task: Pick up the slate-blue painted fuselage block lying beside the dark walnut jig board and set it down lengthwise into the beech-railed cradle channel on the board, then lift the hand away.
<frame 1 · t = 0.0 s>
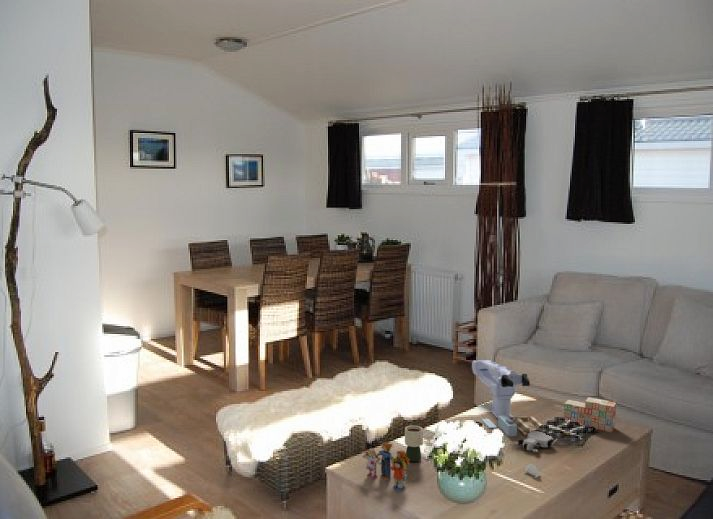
hand: (520, 384, 280), 22 cm above the table, tool horizontal, fingers open, 7 cm apart
character mug: (413, 460, 253), on the table
robot toy: (535, 447, 266), on the table
fuselage: (507, 431, 283), on the table
doll family: (389, 479, 236), on the table
wing plate: (488, 425, 290), on the table
jig: (529, 428, 286), on the table
stack of blocks: (588, 425, 290), on the table
car cutout: (523, 472, 244), on the table
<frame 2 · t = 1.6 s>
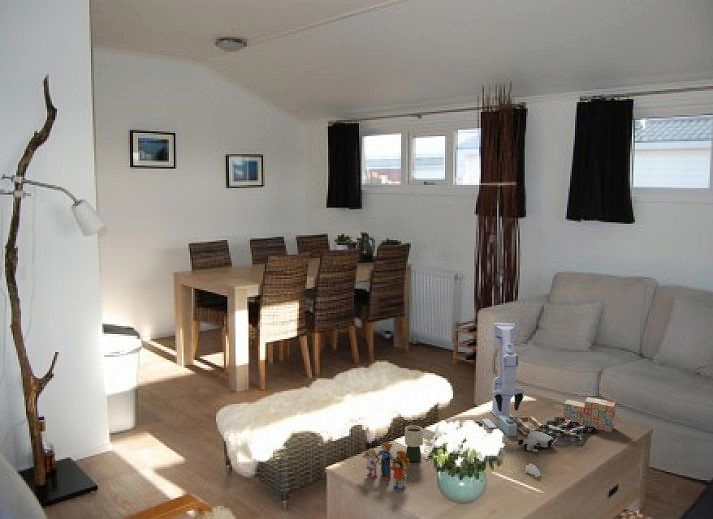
hand: (507, 410, 282), 9 cm above the table, tool pointing down, fingers open, 7 cm apart
nothing on the table moved.
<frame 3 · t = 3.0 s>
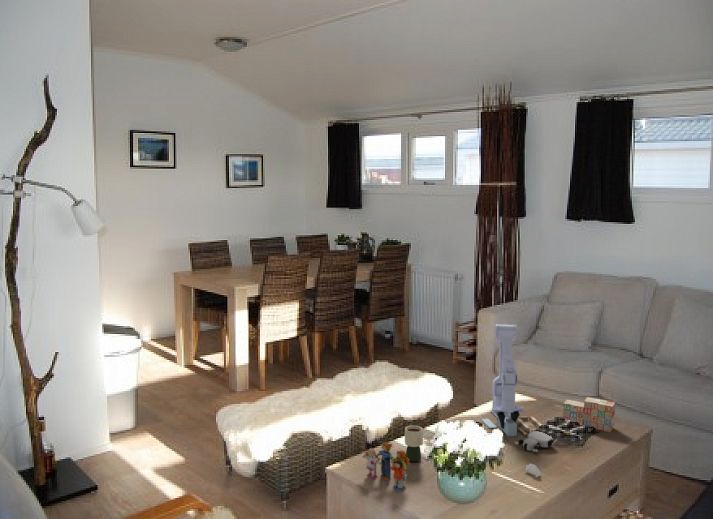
hand: (507, 427, 283), 1 cm above the table, tool pointing down, fingers closed on fuselage, 4 cm apart
fuselage: (506, 430, 283), on the table, touching gripper
everything else where it was.
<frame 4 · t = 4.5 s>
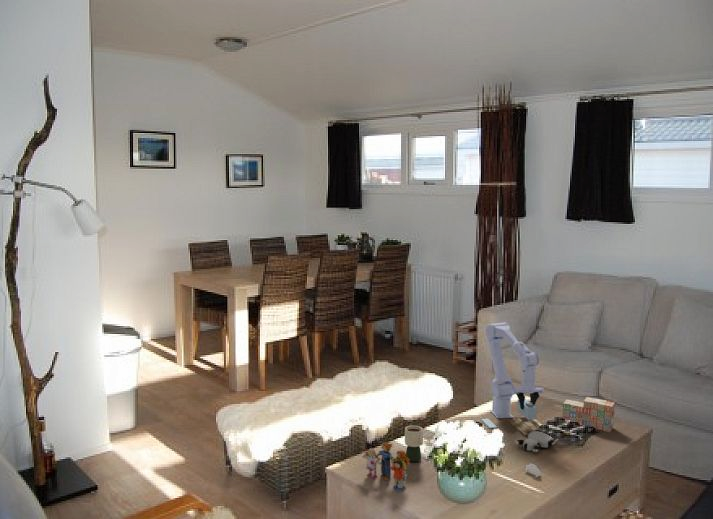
hand: (526, 408, 284), 9 cm above the table, tool pointing down, fingers closed on fuselage, 4 cm apart
fuselage: (526, 414, 284), point 7 cm above the table, touching gripper
everything else where it was.
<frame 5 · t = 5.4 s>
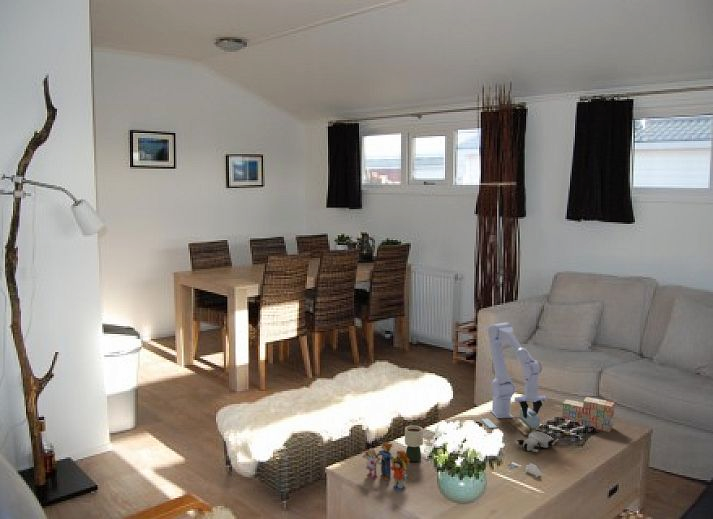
hand: (529, 417, 285), 5 cm above the table, tool pointing down, fingers closed on fuselage, 4 cm apart
fuselage: (529, 423, 285), point 2 cm above the table, touching gripper
everything else where it was.
when the fingers open (4 cm above the table, at t = 6.1 s): fuselage stays where it is, resting on jig.
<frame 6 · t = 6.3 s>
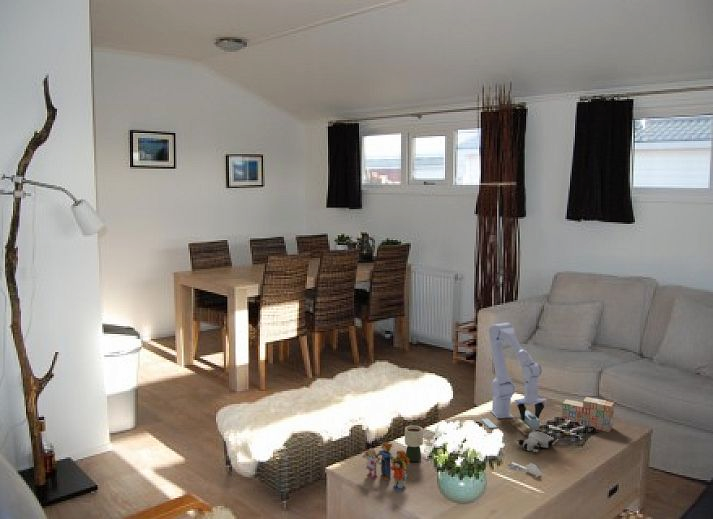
hand: (529, 419, 285), 4 cm above the table, tool pointing down, fingers open, 6 cm apart
fuselage: (529, 426, 285), point 1 cm above the table, touching jig
everything else where it was.
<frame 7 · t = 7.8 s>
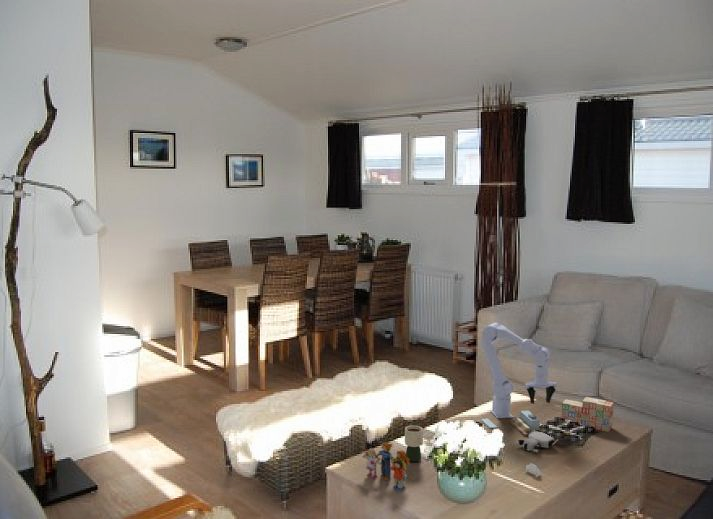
hand: (540, 402, 290), 10 cm above the table, tool pointing down, fingers open, 7 cm apart
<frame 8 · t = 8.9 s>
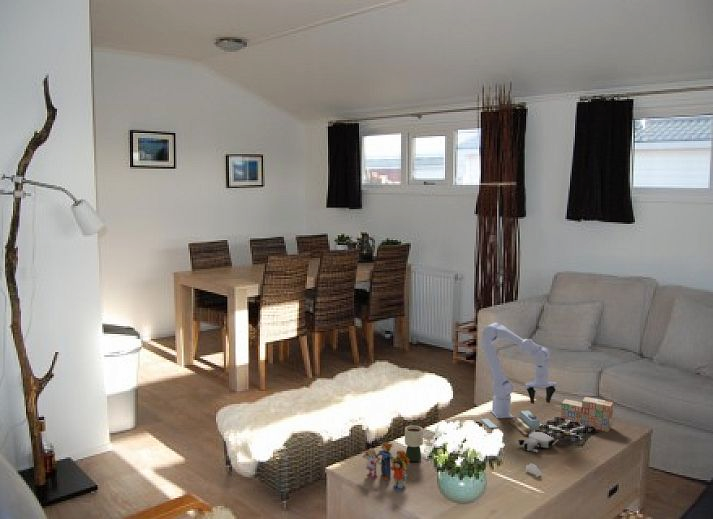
hand: (540, 402, 290), 10 cm above the table, tool pointing down, fingers open, 7 cm apart
at the end: fuselage 0.0 cm off-centre on the jig, point 1.0 cm above the jig's base; fuselage tilted 0°; the gripper is holding nothing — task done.
